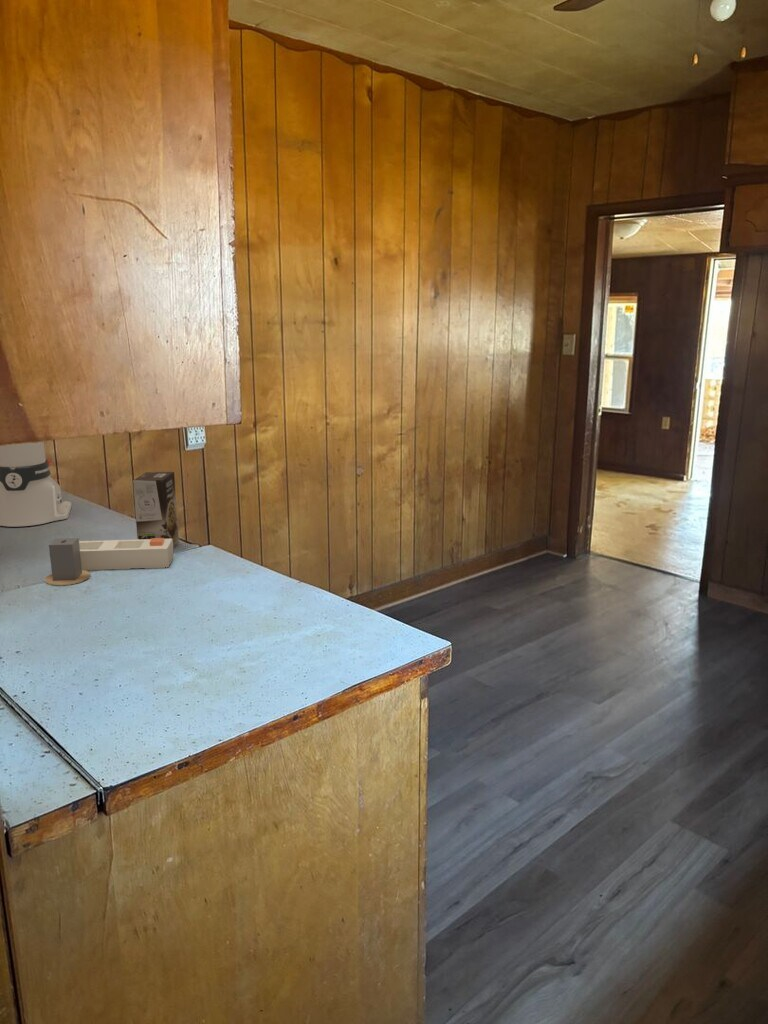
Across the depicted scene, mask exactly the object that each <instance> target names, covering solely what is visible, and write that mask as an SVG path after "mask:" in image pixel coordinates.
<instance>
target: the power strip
mask: <svg viewBox="0 0 768 1024" xmlns="http://www.w3.org/2000/svg"><path fill="white" fill-rule="evenodd" d="M79 547H80V557H81V566H82V570H85V571H108V570H107V569H115V570H131V569H130V568H145V569H167V567H169V568H170V566H169V565H171V564H170V563H172V562H173V560H172V559H174V558H175V556H174V554H175V553H174V548H173V539H164V538H152V539H139V540H137V539H113V540H112V539H108V540H106V539H105V540H79ZM173 557H174V558H173ZM171 561H172V562H171ZM165 567H166V568H165ZM105 569H106V570H105Z"/></svg>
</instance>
